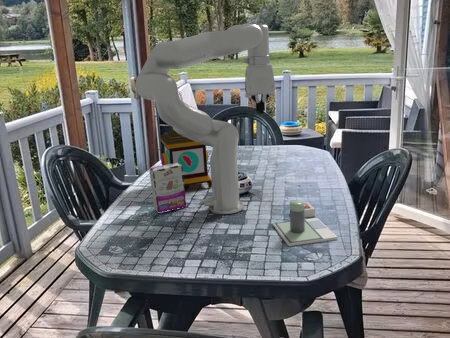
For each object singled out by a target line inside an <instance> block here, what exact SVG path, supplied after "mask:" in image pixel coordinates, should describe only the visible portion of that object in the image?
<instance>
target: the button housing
mask: <svg viewBox="0 0 450 338" xmlns="http://www.w3.org/2000/svg"><path fill="white" fill-rule="evenodd" d="M305 203H306V204H308V209H304V211H305V218H313V217H316V208H315V207H314V206H313V205H312V204H310V203H309V202H305Z"/></svg>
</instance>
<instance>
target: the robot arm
mask: <svg viewBox="0 0 450 338" xmlns="http://www.w3.org/2000/svg"><path fill="white" fill-rule="evenodd" d="M269 34H270V33H269V27H268V25H267V24H255V23H244V24H236V25H231V26H229V27H228V28H227V29H226V30H217V31H216V30H215V31H206V32H202V33H198V34H195V35H192V36H191V35H190V36H188V37H183V38H180V39H175V40H170V41H161V42H158V44H156V45H155V46H154V47H153V49H152V50H151V52H150V53H149V55H148V57H147V59H146V60H145V63H144V64H143V66H142V68H141V70H140V72H139V73H138V75H137V78H136V80H135V91H136V93H137V94H138V96H140V98H142V99H144V100H148V101H153V102H155V107H156V111H157V113H158V116H159V118H160V120H162V121H163V122H164V123H166V124H167V125H168V126H171V127H173V129H174V130H175V131H176V132H177V133H178V134H180V135H182V136H184V137H186V138H188V139H191V140H193V141H195V142H198V143H200V144H203V145H206V147H210V148H212V151H211V154H210V159H209V165H210V167H209V168H210V179H211V182H212V186H211V191H212V194H211V195H210V197H209V198H207V199H206V198H205V199H204V198H203V199H199V205H200V206H203V205H204V207H208V210H209V211H210V212H211V213H213V214H217V215H230V214H231V215H232V214H235V213H239V212H240V211H242V210H243V209H244V208H245V204H244V203H243V201H241V200H240V190H239V189H240V188H239V187H240V186H239V185H240V184H239V170H238V167H239V166H238V146H239V140H240V135H239V131H238V128H237V127H236V126H235V125H234V124H233V123H230V122H228V121H223V120H217V119H212V118H211V116H210V115H209V114H208V113H207V112H205V111H203V110H200V109H199V108H196V107H194V106H192V105H189V104H187V103H186V102H184V101H183V100H182V99H181V98H180V94H179V88H178V84H177V82H176V80H175V79H174V78H173V77H172V76H171V75H169V74H168V73H169V71H170V70H179V69H184V68H187V67H190V66H194V65H197V64H200V63H203V62H207V61H209V60H210V61H211V60H213V59H214V60H215V59H219V58H222V57H226V56H230V55H234V54H238V53H242V52H245V51H247V57H246V58H244V59H243V63H244V64H247V66H245V67H246V68H245V77H244V92H245V94H244V98H247V99H252V101H254V102H255V112H256V113H257V114H259V115H260V114H264V113H265V111H266V106H265V105H266V104H265V103H266V102H267V100H268V99H269V98H271V97H273V96H275V95H276V93H275V91H276V85H275V76H274V69H273V65H272V64H270V39H269V36H270V35H269ZM259 95H260V97H259Z"/></svg>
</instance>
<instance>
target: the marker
mask: <svg viewBox="0 0 450 338" xmlns="http://www.w3.org/2000/svg"><path fill="white" fill-rule="evenodd" d="M304 203H305V202H304V201H303V200H298V199H297V200H291V201H289V221H290V231H291V232H292V233H303V232H304V231H305V219H306V217H305V211H304Z"/></svg>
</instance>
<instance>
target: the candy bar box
mask: <svg viewBox="0 0 450 338" xmlns="http://www.w3.org/2000/svg"><path fill="white" fill-rule="evenodd" d="M148 169H149V178H150V185H151V186H150V187H151V193H152V202H153V209H155V210H156V211H157V212H162V211H167V210H172V209H177V208H182V207H186V208H187V200H186V192H185V186H184V179H183V169H182V165H181V164H179V163H174V164H168V165H163V166H162V165H158V166H155V167H154V166H153V167H149V168H148ZM182 209H183V208H182ZM155 210H154V211H155ZM156 211H155V212H156ZM157 212H156V213H157Z"/></svg>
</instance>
